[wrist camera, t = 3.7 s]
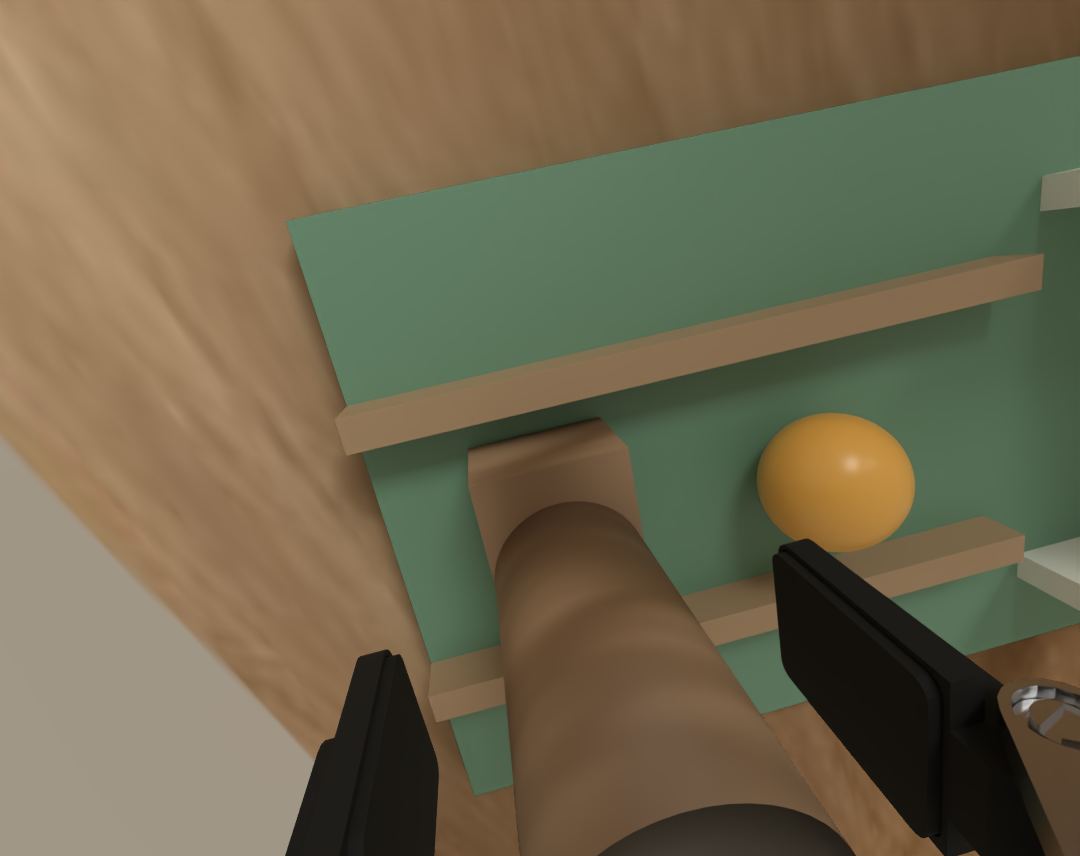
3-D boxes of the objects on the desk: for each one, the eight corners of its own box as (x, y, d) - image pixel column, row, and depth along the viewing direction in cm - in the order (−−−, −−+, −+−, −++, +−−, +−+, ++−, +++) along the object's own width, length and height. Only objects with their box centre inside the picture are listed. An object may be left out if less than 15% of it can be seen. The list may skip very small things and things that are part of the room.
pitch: (1207, 35, 16) (1332, -7, 14) (1131, 586, 22) (1211, 623, 20) (297, 224, 15) (264, 214, 12) (474, 772, 20) (475, 837, 18)
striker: (599, 416, 16) (938, 773, 4) (630, 587, 18) (932, 1159, 6) (468, 448, 16) (470, 914, 4) (513, 618, 17) (601, 1275, 6)
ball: (845, 386, 17) (956, 418, 13) (850, 499, 18) (952, 558, 14) (726, 415, 17) (803, 456, 13) (738, 528, 18) (812, 596, 14)
